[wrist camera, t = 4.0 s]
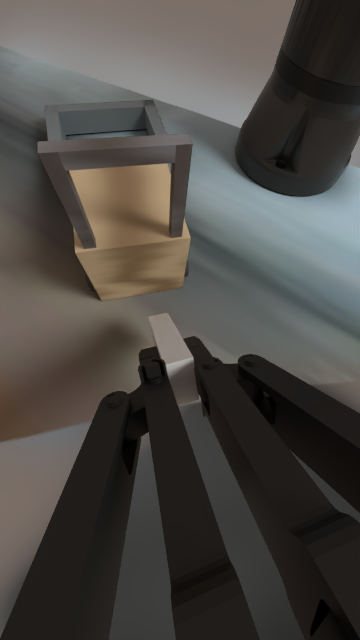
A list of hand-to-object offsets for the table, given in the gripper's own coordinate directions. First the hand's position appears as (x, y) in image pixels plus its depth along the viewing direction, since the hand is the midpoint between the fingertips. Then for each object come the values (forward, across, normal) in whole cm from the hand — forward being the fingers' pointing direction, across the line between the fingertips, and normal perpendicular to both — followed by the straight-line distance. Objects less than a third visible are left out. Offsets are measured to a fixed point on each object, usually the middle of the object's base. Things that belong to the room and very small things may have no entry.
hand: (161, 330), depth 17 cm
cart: (+10, 0, +6) cm, 12 cm away
